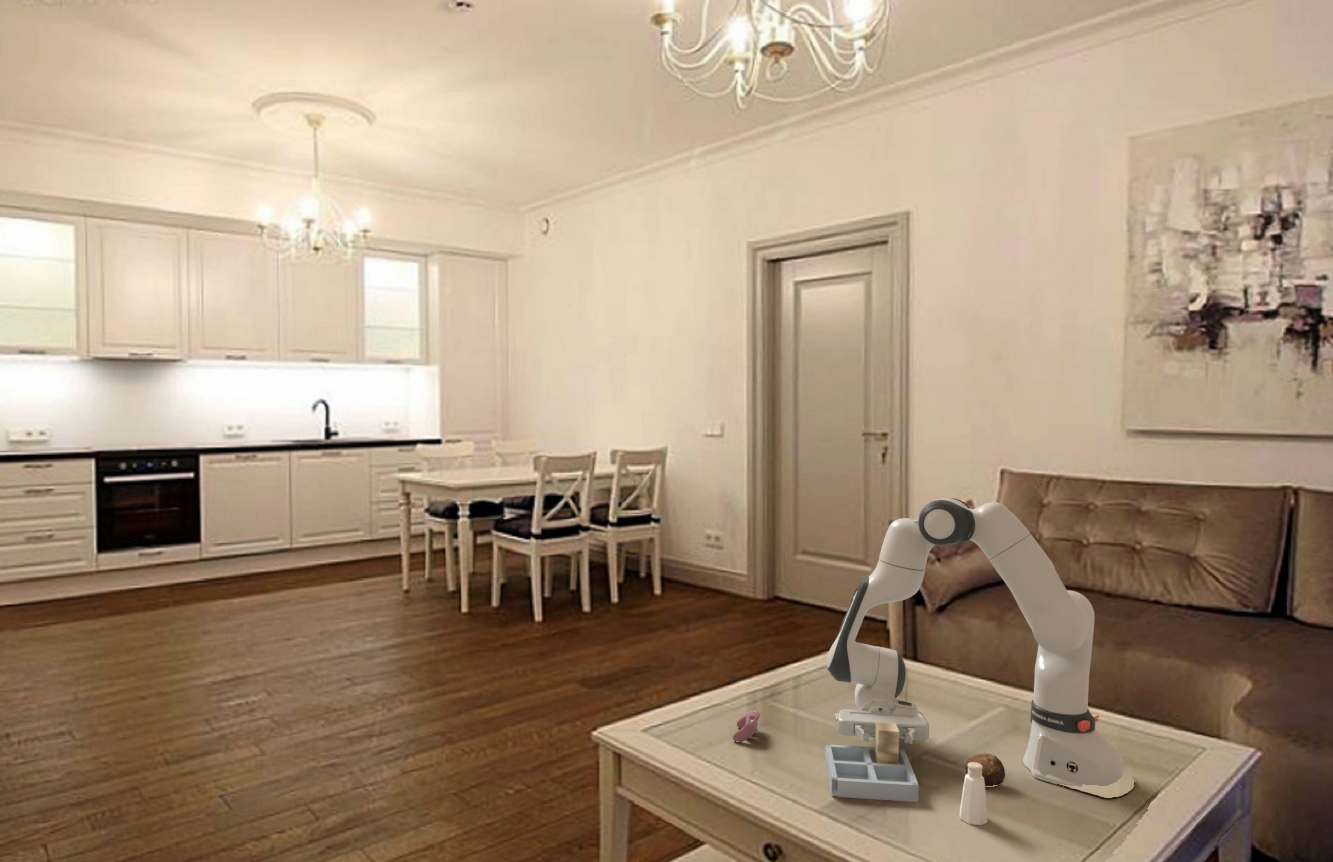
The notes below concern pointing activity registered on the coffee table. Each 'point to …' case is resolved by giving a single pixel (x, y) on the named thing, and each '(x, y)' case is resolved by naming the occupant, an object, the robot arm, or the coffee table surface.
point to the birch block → (886, 743)
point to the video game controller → (747, 726)
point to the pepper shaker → (973, 796)
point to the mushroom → (989, 768)
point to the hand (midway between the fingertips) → (887, 739)
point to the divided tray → (869, 774)
